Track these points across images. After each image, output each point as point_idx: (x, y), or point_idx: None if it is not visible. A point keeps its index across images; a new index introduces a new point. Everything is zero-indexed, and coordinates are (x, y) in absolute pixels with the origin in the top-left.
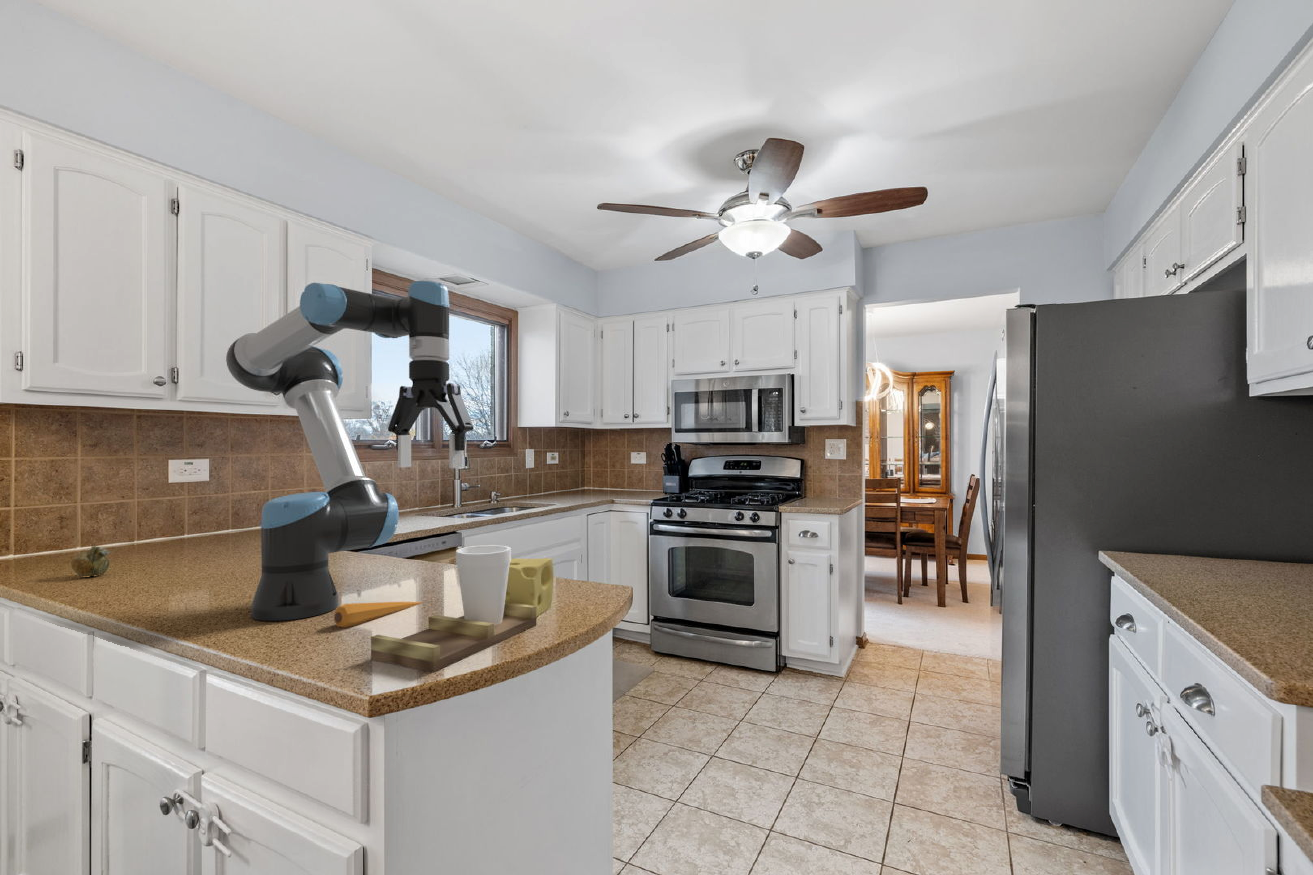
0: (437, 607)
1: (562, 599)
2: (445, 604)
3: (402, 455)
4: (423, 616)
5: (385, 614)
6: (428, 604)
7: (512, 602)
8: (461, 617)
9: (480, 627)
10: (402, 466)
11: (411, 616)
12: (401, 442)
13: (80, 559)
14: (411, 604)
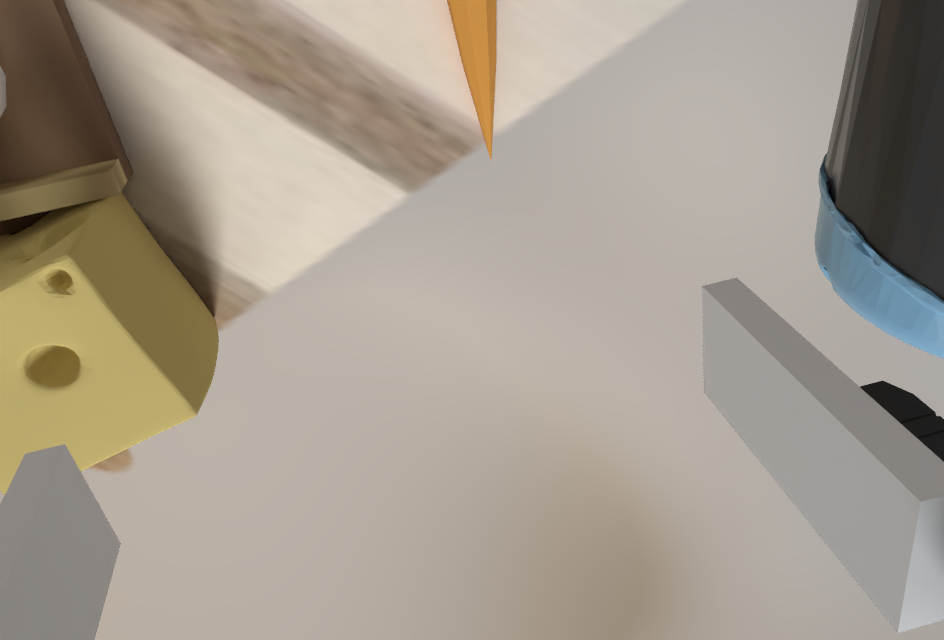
0: (384, 152)
1: (128, 459)
2: (397, 192)
3: (761, 366)
4: (313, 49)
5: None
6: (449, 155)
7: (3, 249)
8: (68, 67)
9: None
10: (707, 309)
11: (350, 21)
12: (851, 445)
13: None
14: (473, 100)
